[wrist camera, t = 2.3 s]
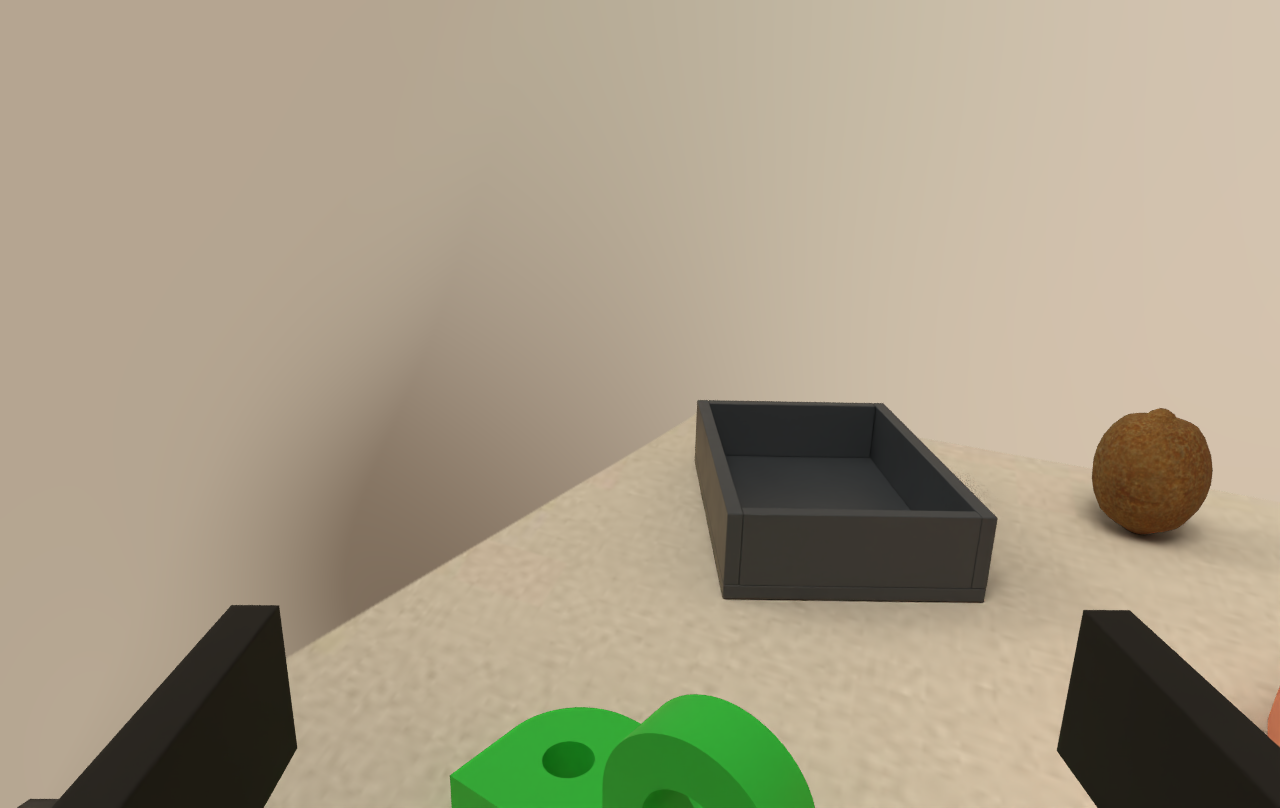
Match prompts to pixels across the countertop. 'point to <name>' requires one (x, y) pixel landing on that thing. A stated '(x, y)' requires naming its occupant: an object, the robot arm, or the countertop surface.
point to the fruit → (1151, 471)
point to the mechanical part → (635, 762)
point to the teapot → (1275, 721)
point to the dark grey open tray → (835, 506)
